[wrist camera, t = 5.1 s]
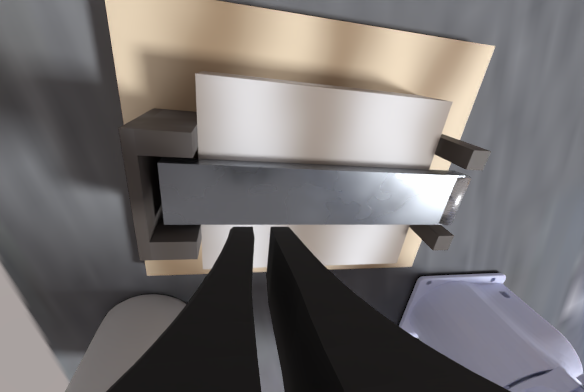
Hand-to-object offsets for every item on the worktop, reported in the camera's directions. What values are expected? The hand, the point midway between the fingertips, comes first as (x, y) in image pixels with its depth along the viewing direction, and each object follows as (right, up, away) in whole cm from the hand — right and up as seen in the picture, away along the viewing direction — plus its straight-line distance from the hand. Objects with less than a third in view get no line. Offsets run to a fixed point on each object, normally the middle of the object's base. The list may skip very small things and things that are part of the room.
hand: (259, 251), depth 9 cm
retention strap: (+3, +3, +6) cm, 7 cm away
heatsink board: (+2, +4, +9) cm, 10 cm away
